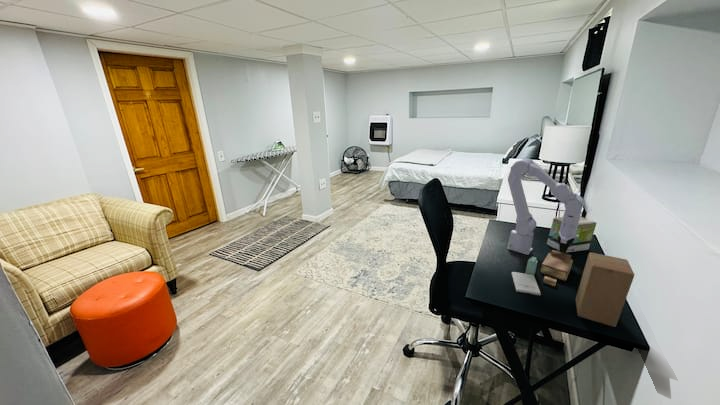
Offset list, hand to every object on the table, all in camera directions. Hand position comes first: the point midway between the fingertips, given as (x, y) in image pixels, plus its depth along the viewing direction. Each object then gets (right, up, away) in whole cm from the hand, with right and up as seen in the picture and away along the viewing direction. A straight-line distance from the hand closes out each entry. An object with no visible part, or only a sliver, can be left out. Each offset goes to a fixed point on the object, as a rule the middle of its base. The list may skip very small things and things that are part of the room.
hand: (562, 251), depth 126 cm
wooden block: (-10, -16, -29) cm, 34 cm away
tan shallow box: (-9, -8, -7) cm, 14 cm away
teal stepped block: (-18, -8, -6) cm, 21 cm away
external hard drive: (-24, -11, -13) cm, 29 cm away
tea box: (+12, 0, +14) cm, 19 cm away
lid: (-6, -4, -6) cm, 9 cm away
